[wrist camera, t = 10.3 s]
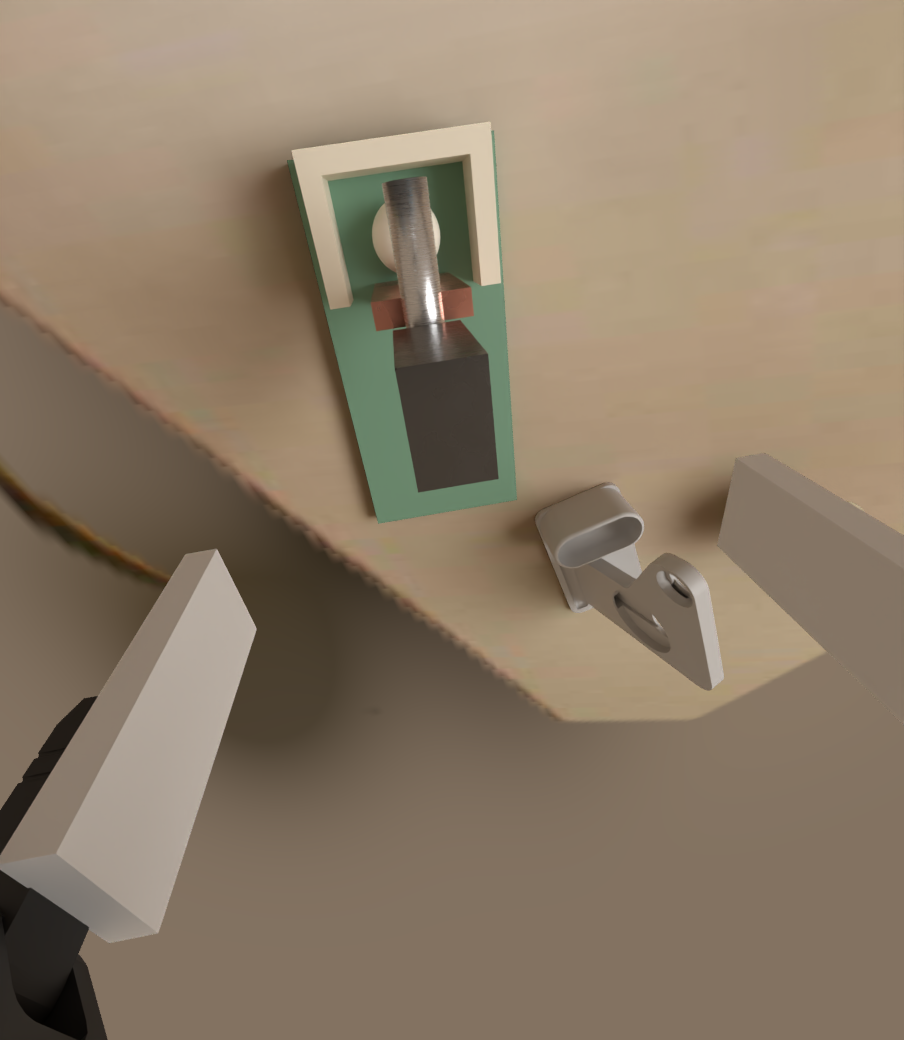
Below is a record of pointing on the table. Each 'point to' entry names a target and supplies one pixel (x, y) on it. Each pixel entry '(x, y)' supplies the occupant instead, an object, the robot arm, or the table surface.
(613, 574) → the phone holder
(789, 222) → the table surface
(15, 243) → the table surface
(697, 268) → the table surface
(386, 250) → the ball
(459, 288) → the multicoloured piece
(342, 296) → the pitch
